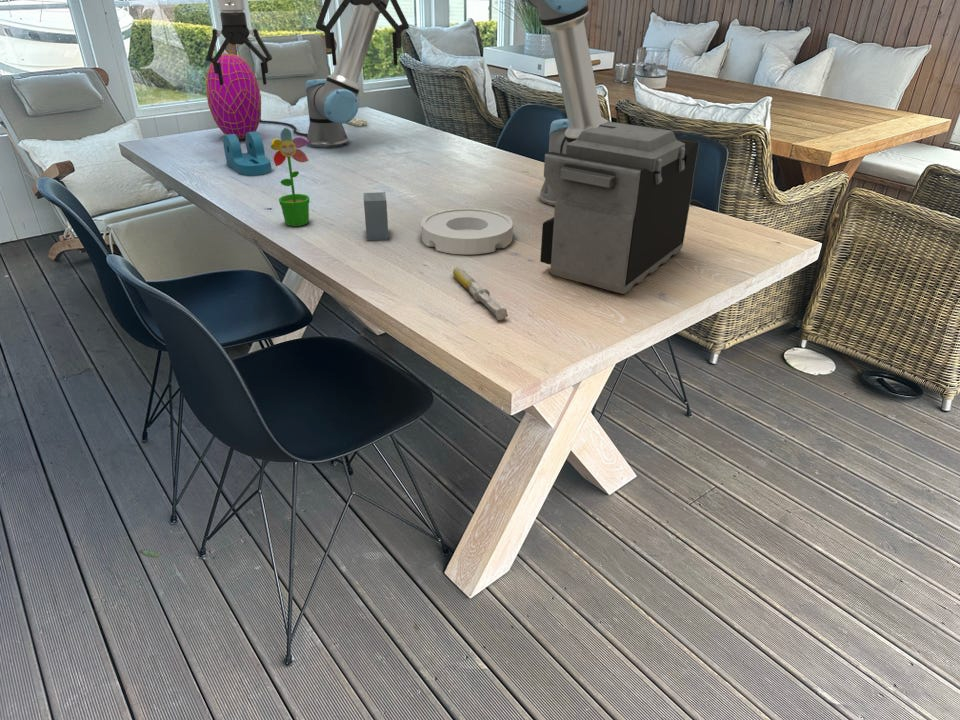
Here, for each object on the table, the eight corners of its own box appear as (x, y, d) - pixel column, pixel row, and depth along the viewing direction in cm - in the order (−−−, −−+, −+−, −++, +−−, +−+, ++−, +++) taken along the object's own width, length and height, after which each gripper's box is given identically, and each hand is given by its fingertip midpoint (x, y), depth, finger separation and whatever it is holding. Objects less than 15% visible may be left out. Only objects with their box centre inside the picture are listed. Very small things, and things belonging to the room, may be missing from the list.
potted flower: (284, 229, 179) (270, 130, 166) (277, 220, 185) (263, 124, 172) (319, 224, 183) (308, 127, 170) (311, 215, 188) (300, 121, 176)
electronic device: (606, 230, 180) (619, 111, 165) (687, 249, 169) (709, 123, 154) (532, 275, 155) (539, 139, 140) (621, 301, 144) (640, 156, 128)
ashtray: (426, 221, 185) (425, 207, 183) (512, 223, 185) (512, 208, 183) (416, 253, 165) (416, 237, 163) (512, 255, 165) (513, 239, 163)
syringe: (449, 274, 155) (449, 263, 153) (465, 272, 156) (464, 260, 154) (490, 323, 135) (491, 310, 133) (508, 319, 136) (508, 307, 134)
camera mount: (227, 164, 233) (221, 132, 227) (257, 160, 238) (252, 129, 233) (244, 176, 220) (239, 143, 215) (276, 172, 225) (271, 139, 220)
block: (366, 231, 179) (363, 192, 173) (387, 230, 179) (385, 192, 174) (366, 240, 173) (363, 201, 168) (388, 239, 174) (386, 200, 168)
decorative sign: (319, 115, 301) (339, 112, 307) (320, 117, 301) (339, 114, 307) (352, 125, 284) (372, 122, 290) (352, 127, 284) (372, 124, 290)
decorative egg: (252, 130, 278) (239, 49, 262) (275, 139, 265) (264, 54, 250) (206, 137, 266) (190, 53, 251) (228, 146, 254) (213, 59, 239)
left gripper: (187, 12, 209) (201, 86, 219) (272, 12, 212) (281, 85, 223) (192, 10, 215) (205, 82, 226) (274, 10, 218) (283, 81, 229)
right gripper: (295, -46, 140) (308, 67, 150) (418, -44, 143) (421, 66, 154) (298, -46, 146) (310, 62, 157) (415, -44, 149) (419, 61, 160)
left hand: (243, 84), depth 224 cm, fingers open, 13 cm apart
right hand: (365, 64), depth 155 cm, fingers open, 13 cm apart
